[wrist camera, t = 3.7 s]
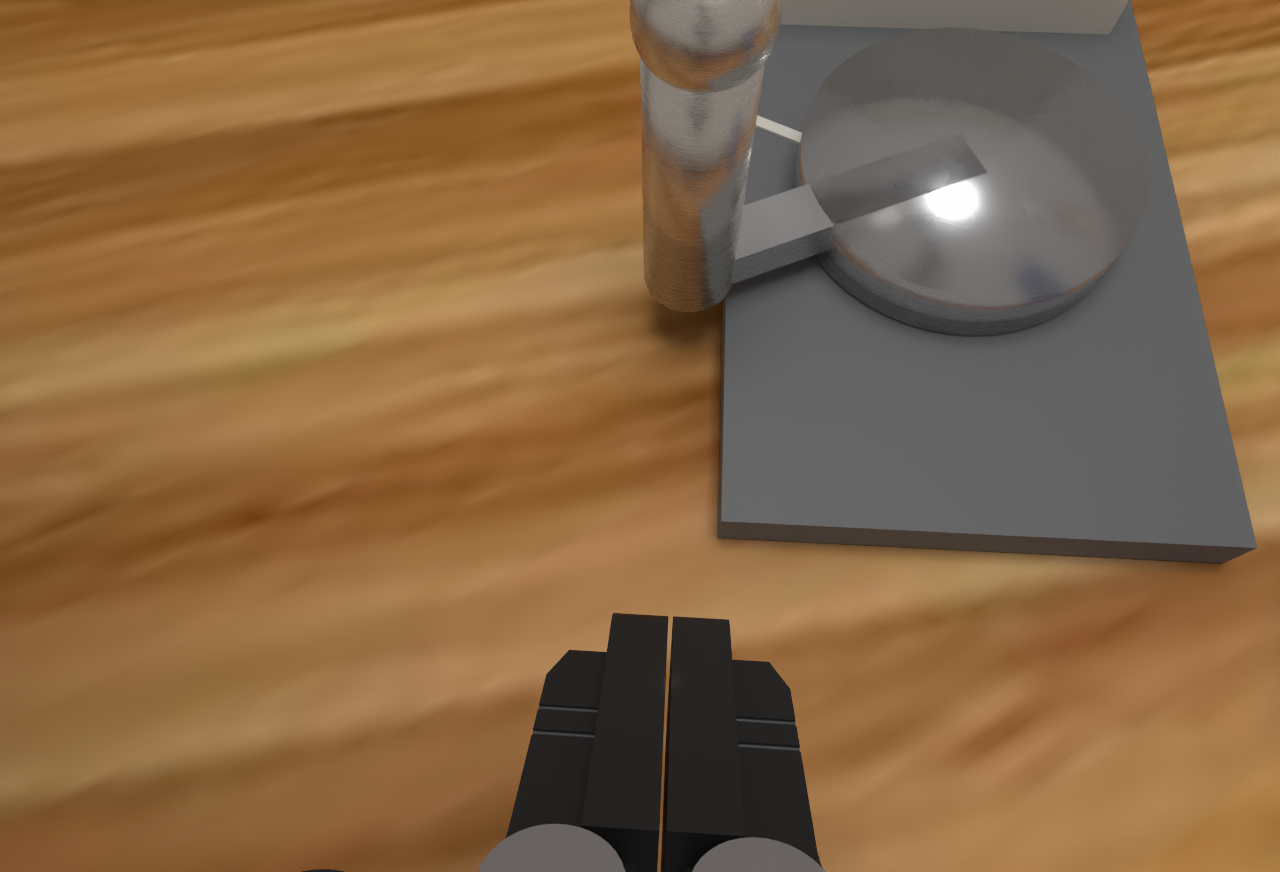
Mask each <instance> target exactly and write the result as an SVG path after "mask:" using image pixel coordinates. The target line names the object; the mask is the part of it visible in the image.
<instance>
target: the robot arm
mask: <svg viewBox="0 0 1280 872" xmlns="http://www.w3.org/2000/svg"><path fill="white" fill-rule="evenodd" d="M667 634H668V616H653V615H637V614H620V613H613V615H612V621H611V627H610V634H609V641H608V648H607V652H594V651H578V650H569V651H568V652H567V653H566V654H565V655H564V656H563V657H562V658H561V659H560V660H559V661H558V663H557V664H556V665H555V666H554V667H553V668H552V669H551V670H550V671H549V672H548V673H547V675H546V679H545V683H544V687H543V691H542V695H541V699H540V703H539V710H538V711H537V715H536V719H535V723H534V728H533V735H532V736H531V740H530V744H529V748H528V752H527V756H526V760H525V764H524V768H523V772H522V776H521V780H520V785H519V789H518V793H517V797H516V801H515V805H514V809H513V813H512V817H511V821H510V825H509V829H508V832H507V835H506V838H505V839H504V840H503V841H502V842H500V843H499V844H498V845H497V846H496V847H495V848H494V849H493V850H492V851H490V852H489V854H488V855H487V857H486V858H485V859H484V861H483V862H482V864H481V866H480V869H479V871H478V872H657V861H658V843H659V824H660V800H661V776H662V752H663V729H664V705H665V681H666V657H667ZM799 747H800V745H799V739H798V733H797V727H796V726H795V715H794V709H793V703H792V697H791V691H790V688H789V687H788V686H787V685H786V683H785V682H784V681H783V679H782V678H781V677H780V675H779V674H778V673H777V672H776V670H775V669H774V668H773V666H772V665H771V664H770V662H760V661H744V660H732V651H731V637H730V624H729V620H724V619H707V618H690V617H674V616H673V626H672V643H671V660H670V677H669V695H668V712H667V731H666V751H665V776H664V803H663V829H662V856H661V872H825V871H824V869H823V868H822V865H821V863H820V860H819V856H818V852H817V847H816V841H815V835H814V829H813V823H812V817H811V811H810V805H809V799H808V793H807V787H806V781H805V775H804V769H803V763H802V757H801V752H800V751H799ZM303 872H343V871H338V870H329V869H321V870H309V871H303Z"/></svg>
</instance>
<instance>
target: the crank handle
mask: <svg viewBox="0 0 1280 872" xmlns="http://www.w3.org/2000/svg"><path fill="white" fill-rule="evenodd" d="M781 19H782V0H631V1H630V27H631V32H632V37H633V40H634V44H635V46H636V49H637V51H638V53H639V55H640V67H641V127H642V187H643V246H644V280H645V284H646V286H647V289H648V290H649V292H650V294H651V295H652V296H653V297H654V298H655V299H656V300H657V301H658V302H659V303H661V304H662V305H664V306H666V307H668V308H670V309H673V310H676V311H681V312H697V311H702V310H706V309H708V308H711V307H713V306H714V305H716V304H718V303H719V302H720V301H721V300H722V299H723V298H724V297H725V296H726V295H727V294H728V292H729V290H730V288H731V286H732V284H734V283H736V282H739V281H742V280H745V279H748V278H751V277H754V276H756V275H759V274H762V273H765V272H768V271H771V270H774V269H776V268H779V267H782V266H785V265H788V264H791V263H794V262H796V261H799V260H802V259H805V258H808V257H811V256H813V255H814V256H815V258H816V259H817V261H818V262H819V264H820V265H821V266H822V267H823V268H824V269H825V270H826V272H827V273H828V274H829V275H830V276H831V277H832V278H833V279H834V280H835V281H836V282H837V283H838V284H839V285H841V286H842V287H843V288H844V289H845V290H846V291H847V292H849V293H850V294H851V295H853V296H854V297H856V298H857V299H859V300H860V301H861V302H863V303H864V304H866V305H868V306H869V307H871V308H873V309H875V310H877V311H879V312H880V313H882V314H884V315H886V316H889V317H891V318H893V319H896V320H898V321H901V322H903V323H906V324H909V325H912V326H916V327H919V328H923V329H926V330H930V331H936V332H942V333H948V334H957V335H973V336H975V335H995V334H1002V333H1008V332H1014V331H1019V330H1022V329H1025V328H1029V327H1032V326H1035V325H1039V324H1041V323H1043V322H1045V321H1047V320H1050V319H1052V318H1054V317H1056V316H1058V315H1060V314H1061V313H1063V312H1064V311H1066V310H1067V309H1069V308H1070V307H1072V306H1074V305H1075V304H1076V303H1077V302H1078V301H1079V300H1080V299H1081V298H1083V297H1084V296H1085V295H1086V294H1087V293H1088V292H1089V291H1090V290H1091V288H1092V287H1093V286H1094V285H1095V283H1096V282H1097V281H1098V280H1099V279H1100V277H1101V276H1102V275H1103V274H1104V273H1105V271H1106V270H1107V269H1108V268H1109V266H1110V265H1111V264H1112V263H1113V262H1114V260H1115V259H1116V258H1117V257H1118V255H1119V254H1120V253H1121V252H1122V251H1123V249H1124V248H1125V247H1126V246H1127V244H1128V243H1129V242H1130V241H1131V240H1132V238H1133V236H1134V235H1135V233H1136V231H1137V229H1138V228H1139V226H1140V224H1141V222H1142V219H1143V216H1144V213H1145V211H1146V208H1147V204H1148V197H1149V191H1150V170H1149V165H1148V160H1147V154H1146V151H1145V148H1144V145H1143V142H1142V140H1141V137H1140V134H1139V132H1138V131H1137V129H1136V127H1135V125H1134V123H1133V121H1132V119H1131V118H1130V116H1129V115H1128V113H1127V112H1126V111H1125V109H1124V108H1123V106H1122V105H1121V104H1120V102H1119V101H1118V100H1117V99H1116V98H1115V97H1114V96H1113V95H1112V94H1111V92H1110V91H1109V90H1108V89H1107V88H1106V87H1105V86H1104V85H1102V84H1101V83H1100V82H1099V81H1098V80H1097V79H1096V78H1094V77H1093V76H1092V75H1091V74H1090V73H1088V72H1087V71H1085V70H1084V69H1082V68H1081V67H1080V66H1078V65H1077V64H1075V63H1074V62H1072V61H1070V60H1069V59H1067V58H1065V57H1063V56H1062V55H1060V54H1058V53H1056V52H1054V51H1052V50H1050V49H1047V48H1045V47H1043V46H1041V45H1038V44H1036V43H1033V42H1030V41H1027V40H1024V39H1021V38H1018V37H1015V36H1011V35H1007V34H1003V33H999V32H994V31H987V30H980V29H973V28H952V27H951V28H931V29H924V30H918V31H911V32H907V33H903V34H899V35H895V36H892V37H889V38H886V39H884V40H881V41H878V42H876V43H873V44H872V45H870V46H868V47H866V48H864V49H862V50H860V51H858V52H857V53H855V54H854V55H852V56H851V57H849V58H848V59H847V60H845V61H844V62H842V63H841V64H840V65H839V66H838V67H837V68H836V69H835V70H834V71H833V72H832V73H831V74H830V75H829V76H828V77H827V78H826V80H825V81H824V82H823V83H822V85H821V86H820V87H819V89H818V91H817V92H816V94H815V96H814V98H813V99H812V101H811V103H810V106H809V109H808V112H807V114H806V117H805V121H804V126H803V131H802V135H801V140H800V144H799V149H798V154H797V158H796V163H795V168H794V174H793V180H792V189H791V190H788V191H785V192H782V193H780V194H777V195H774V196H771V197H768V198H765V199H762V200H759V201H756V202H753V203H750V204H747V205H744V202H745V195H746V188H747V181H748V174H749V168H750V161H751V154H752V147H753V140H754V134H755V127H756V120H757V113H758V106H759V100H760V93H761V86H762V79H763V72H764V66H765V62H766V60H767V59H768V57H769V55H770V54H771V52H772V50H773V48H774V45H775V43H776V40H777V38H778V34H779V30H780V26H781Z"/></svg>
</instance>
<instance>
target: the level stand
mask: <svg viewBox="0 0 1280 872" xmlns="http://www.w3.org/2000/svg"><path fill="white" fill-rule="evenodd" d="M951 27H952V28H973V29H980V30H987V31H994V32H999V33H1003V34H1007V35H1011V36H1015V37H1018V38H1021V39H1024V40H1027V41H1030V42H1033V43H1036V44H1038V45H1041V46H1043V47H1045V48H1047V49H1050V50H1052V51H1054V52H1056V53H1058V54H1060V55H1062V56H1063V57H1065V58H1067V59H1069V60H1070V61H1072V62H1074V63H1075V64H1077V65H1078V66H1080V67H1081V68H1082V69H1084V70H1085V71H1087V72H1088V73H1090V74H1091V75H1092V76H1093V77H1094V78H1096V79H1097V80H1098V81H1099V82H1100V83H1101V84H1102V85H1104V86H1105V87H1106V88H1107V89H1108V90H1109V91H1110V92H1111V94H1112V95H1113V96H1114V97H1115V98H1116V99H1117V100H1118V101H1119V102H1120V104H1121V105H1122V106H1123V108H1124V109H1125V111H1126V112H1127V113H1128V115H1129V116H1130V118H1131V119H1132V121H1133V123H1134V125H1135V127H1136V129H1137V131H1138V132H1139V134H1140V137H1141V140H1142V142H1143V145H1144V148H1145V151H1146V154H1147V160H1148V165H1149V170H1150V191H1149V197H1148V204H1147V208H1146V211H1145V213H1144V216H1143V219H1142V222H1141V224H1140V226H1139V228H1138V229H1137V231H1136V233H1135V235H1134V236H1133V238H1132V240H1131V241H1130V242H1129V243H1128V244H1127V246H1126V247H1125V248H1124V249H1123V251H1122V252H1121V253H1120V254H1119V255H1118V257H1117V258H1116V259H1115V260H1114V262H1113V263H1112V264H1111V265H1110V266H1109V268H1108V269H1107V270H1106V271H1105V273H1104V274H1103V275H1102V276H1101V277H1100V279H1099V280H1098V281H1097V282H1096V283H1095V285H1094V286H1093V287H1092V288H1091V290H1090V291H1089V292H1088V293H1087V294H1086V295H1085V296H1084V297H1083V298H1081V299H1080V300H1079V301H1078V302H1077V303H1076V304H1075V305H1074V306H1072V307H1070V308H1069V309H1067V310H1066V311H1064V312H1063V313H1061V314H1060V315H1058V316H1056V317H1054V318H1052V319H1050V320H1047V321H1045V322H1043V323H1041V324H1039V325H1035V326H1032V327H1029V328H1025V329H1022V330H1019V331H1014V332H1008V333H1002V334H995V335H975V336H973V335H957V334H948V333H942V332H936V331H930V330H926V329H923V328H919V327H916V326H912V325H909V324H906V323H903V322H901V321H898V320H896V319H893V318H891V317H889V316H886V315H884V314H882V313H880V312H879V311H877V310H875V309H873V308H871V307H869V306H868V305H866V304H864V303H863V302H861V301H860V300H859V299H857V298H856V297H854V296H853V295H851V294H850V293H849V292H847V291H846V290H845V289H844V288H843V287H842V286H841V285H839V284H838V283H837V282H836V281H835V280H834V279H833V278H832V277H831V276H830V275H829V274H828V273H827V272H826V270H825V269H824V268H823V267H822V266H821V265H820V264H819V262H818V261H817V259H816V258H815V256H814V255H813V256H811V257H808V258H805V259H802V260H799V261H796V262H794V263H791V264H788V265H785V266H782V267H779V268H776V269H774V270H771V271H768V272H765V273H762V274H759V275H756V276H754V277H751V278H748V279H745V280H742V281H739V282H736V283H734V284H732V286H731V288H730V290H729V292H728V294H727V295H726V296H725V297H724V298H723V318H722V362H721V406H720V450H719V494H718V538H732V539H752V540H772V541H792V542H811V543H831V544H851V545H870V546H890V547H910V548H929V549H949V550H969V551H989V552H1008V553H1028V554H1048V555H1067V556H1087V557H1107V558H1127V559H1146V560H1166V561H1186V562H1205V563H1225V562H1227V561H1229V560H1232V559H1234V558H1236V557H1238V556H1240V555H1243V554H1245V553H1247V552H1249V551H1251V550H1254V549H1256V548H1257V546H1256V542H1255V537H1254V533H1253V529H1252V524H1251V520H1250V516H1249V511H1248V507H1247V503H1246V498H1245V494H1244V490H1243V485H1242V481H1241V477H1240V472H1239V468H1238V464H1237V459H1236V455H1235V451H1234V446H1233V442H1232V438H1231V433H1230V429H1229V425H1228V420H1227V416H1226V412H1225V407H1224V403H1223V399H1222V394H1221V390H1220V386H1219V381H1218V377H1217V372H1216V368H1215V364H1214V359H1213V355H1212V351H1211V346H1210V342H1209V338H1208V333H1207V329H1206V325H1205V320H1204V316H1203V312H1202V307H1201V303H1200V299H1199V294H1198V290H1197V286H1196V281H1195V277H1194V273H1193V268H1192V264H1191V260H1190V255H1189V251H1188V247H1187V242H1186V238H1185V234H1184V229H1183V225H1182V221H1181V216H1180V212H1179V208H1178V203H1177V199H1176V195H1175V190H1174V186H1173V182H1172V177H1171V173H1170V169H1169V164H1168V160H1167V156H1166V151H1165V147H1164V143H1163V138H1162V134H1161V130H1160V125H1159V121H1158V117H1157V112H1156V108H1155V104H1154V99H1153V95H1152V91H1151V86H1150V82H1149V78H1148V73H1147V69H1146V64H1145V60H1144V56H1143V51H1142V47H1141V43H1140V38H1139V34H1138V30H1137V25H1136V21H1135V17H1134V12H1133V8H1132V4H1131V0H782V19H781V26H780V30H779V34H778V38H777V40H776V43H775V45H774V48H773V50H772V52H771V54H770V55H769V57H768V59H767V60H766V62H765V66H764V72H763V79H762V86H761V93H760V100H759V106H758V113H757V120H756V127H755V134H754V140H753V147H752V154H751V161H750V168H749V174H748V181H747V188H746V195H745V202H744V205H747V204H750V203H753V202H756V201H759V200H762V199H765V198H768V197H771V196H774V195H777V194H780V193H782V192H785V191H788V190H791V189H792V180H793V174H794V168H795V163H796V158H797V154H798V149H799V144H800V140H801V135H802V131H803V126H804V121H805V117H806V114H807V112H808V109H809V106H810V103H811V101H812V99H813V98H814V96H815V94H816V92H817V91H818V89H819V87H820V86H821V85H822V83H823V82H824V81H825V80H826V78H827V77H828V76H829V75H830V74H831V73H832V72H833V71H834V70H835V69H836V68H837V67H838V66H839V65H840V64H841V63H842V62H844V61H845V60H847V59H848V58H849V57H851V56H852V55H854V54H855V53H857V52H858V51H860V50H862V49H864V48H866V47H868V46H870V45H872V44H873V43H876V42H878V41H881V40H884V39H886V38H889V37H892V36H895V35H899V34H903V33H907V32H911V31H918V30H924V29H931V28H951Z"/></svg>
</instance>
